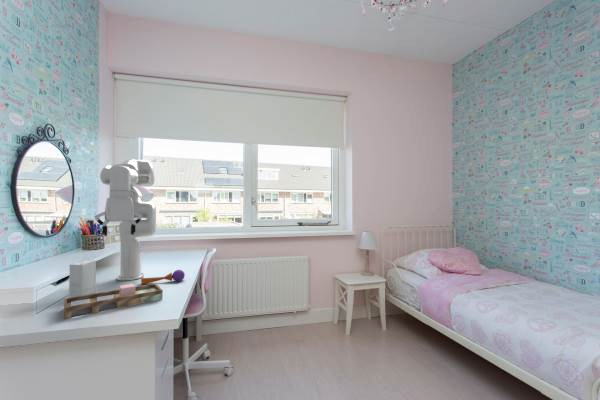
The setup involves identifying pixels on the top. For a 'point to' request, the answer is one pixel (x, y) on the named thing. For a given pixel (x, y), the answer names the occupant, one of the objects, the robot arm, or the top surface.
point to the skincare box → (82, 278)
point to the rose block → (127, 290)
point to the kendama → (176, 276)
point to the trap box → (111, 300)
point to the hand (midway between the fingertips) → (119, 235)
